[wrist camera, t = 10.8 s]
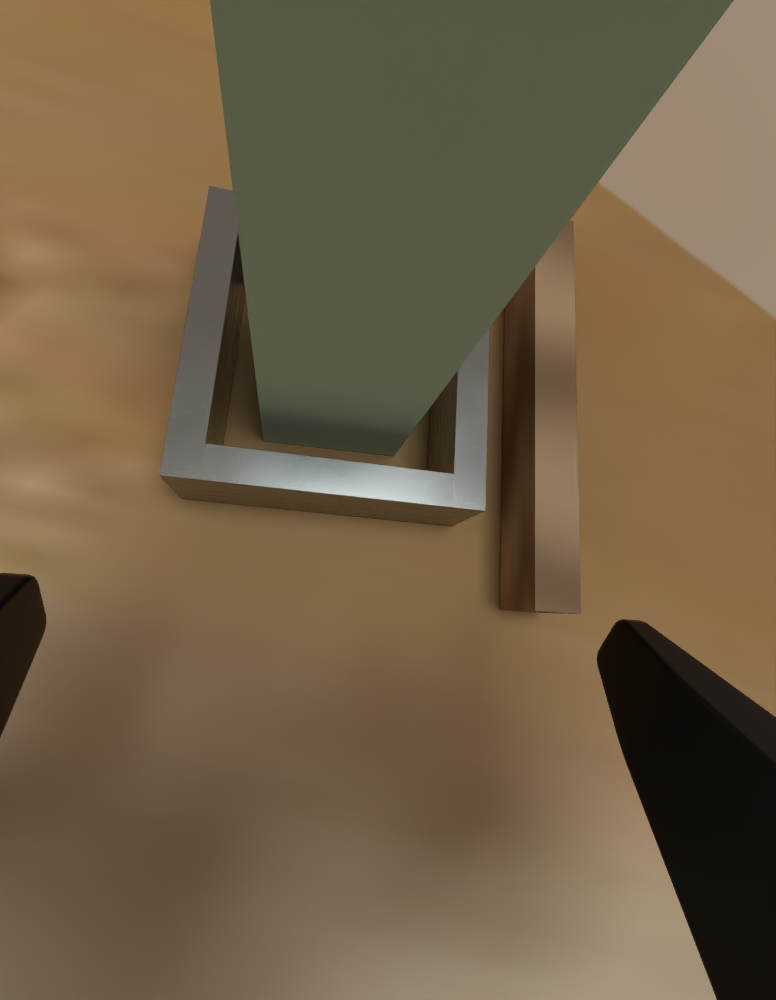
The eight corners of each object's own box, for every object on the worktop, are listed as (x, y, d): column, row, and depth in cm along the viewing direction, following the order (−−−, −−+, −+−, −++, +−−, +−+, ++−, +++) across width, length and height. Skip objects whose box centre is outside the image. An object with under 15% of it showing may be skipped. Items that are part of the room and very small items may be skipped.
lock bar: (393, 455, 18) (754, -28, 4) (263, 440, 17) (183, -225, 3) (400, 340, 19) (708, -353, 5) (277, 320, 18) (260, -570, 4)
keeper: (451, 526, 17) (485, 510, 15) (181, 498, 16) (159, 474, 13) (460, 299, 19) (491, 246, 17) (221, 253, 18) (209, 185, 15)
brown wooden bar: (539, 612, 17) (580, 613, 15) (499, 609, 17) (535, 610, 15) (539, 265, 21) (573, 220, 18) (505, 258, 20) (535, 212, 18)
